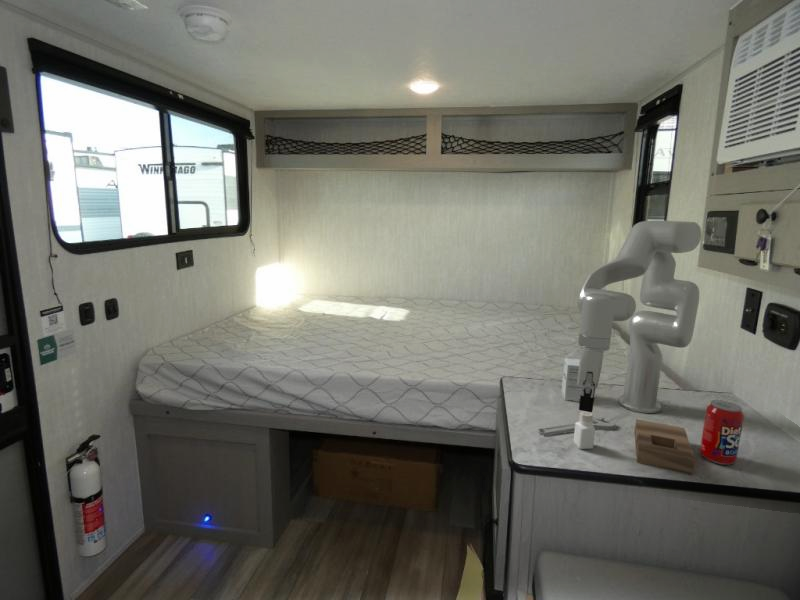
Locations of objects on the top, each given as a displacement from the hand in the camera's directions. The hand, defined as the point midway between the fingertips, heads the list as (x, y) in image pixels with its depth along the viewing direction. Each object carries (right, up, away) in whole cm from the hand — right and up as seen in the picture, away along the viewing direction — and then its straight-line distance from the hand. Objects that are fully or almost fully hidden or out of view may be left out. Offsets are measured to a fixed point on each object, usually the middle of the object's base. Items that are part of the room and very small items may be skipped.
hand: (586, 404), depth 121 cm
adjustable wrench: (+2, -11, +13) cm, 17 cm away
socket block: (+20, -13, +1) cm, 24 cm away
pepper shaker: (0, -12, +3) cm, 13 cm away
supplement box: (+10, -6, +35) cm, 37 cm away
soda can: (+33, -14, -2) cm, 36 cm away
